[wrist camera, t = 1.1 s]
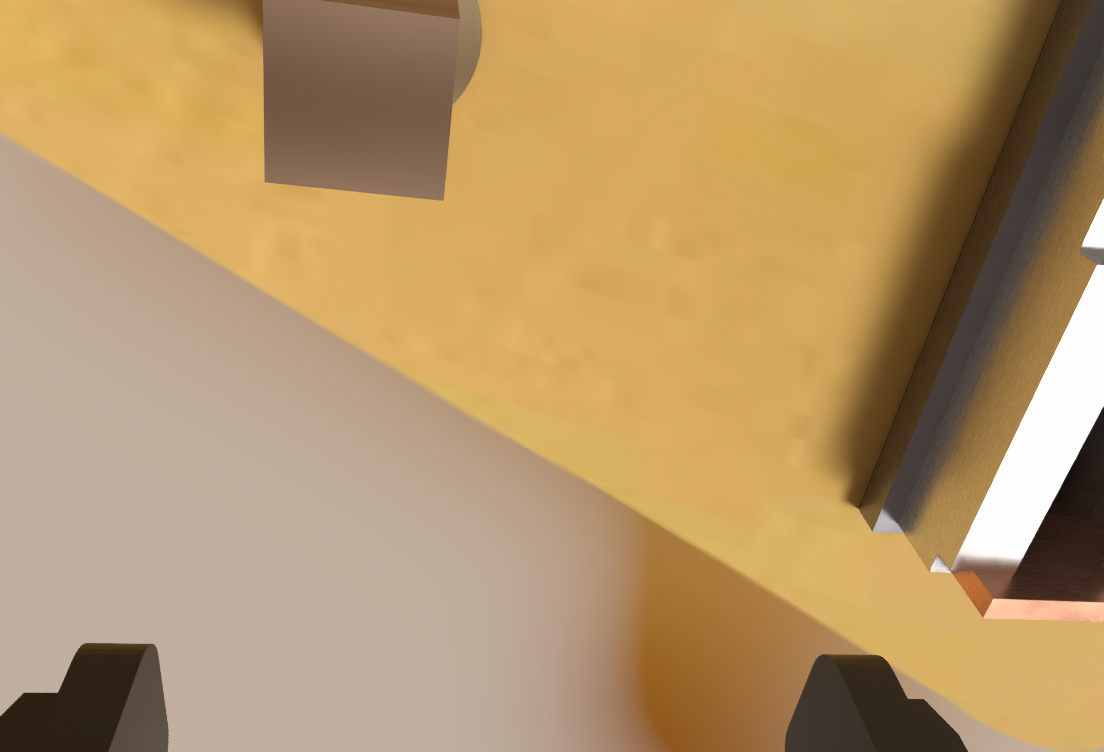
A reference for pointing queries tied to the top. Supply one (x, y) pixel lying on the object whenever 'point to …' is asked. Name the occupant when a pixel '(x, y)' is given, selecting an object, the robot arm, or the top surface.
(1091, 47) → the track
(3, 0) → the top surface
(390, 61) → the headed peg
